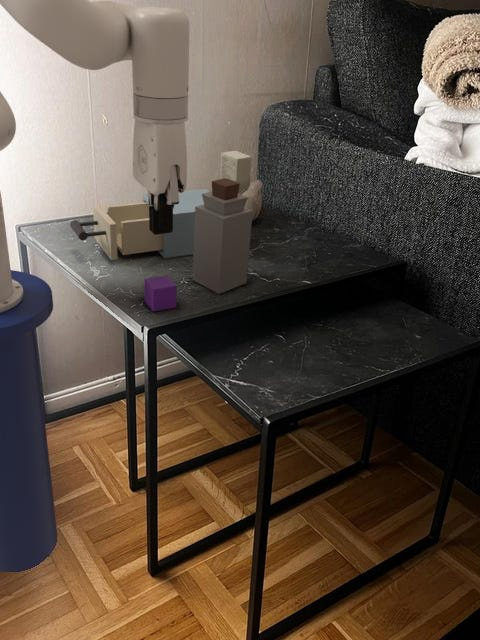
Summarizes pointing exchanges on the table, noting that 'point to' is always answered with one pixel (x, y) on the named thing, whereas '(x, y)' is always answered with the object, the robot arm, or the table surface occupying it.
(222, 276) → the perfume bottle
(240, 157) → the cosmetic box
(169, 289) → the purple rounded cube
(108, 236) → the beige drawer
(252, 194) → the decorative bird
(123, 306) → the table surface
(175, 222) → the drawer cabinet
